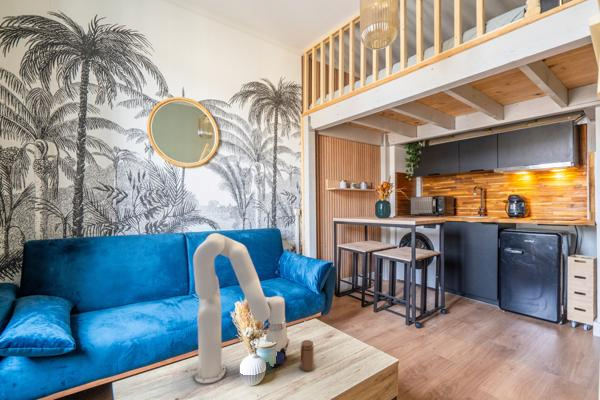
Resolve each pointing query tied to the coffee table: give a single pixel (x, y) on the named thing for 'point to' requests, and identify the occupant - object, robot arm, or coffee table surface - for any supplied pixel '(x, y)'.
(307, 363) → the jar
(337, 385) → the coffee table surface
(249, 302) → the robot arm
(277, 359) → the lid
